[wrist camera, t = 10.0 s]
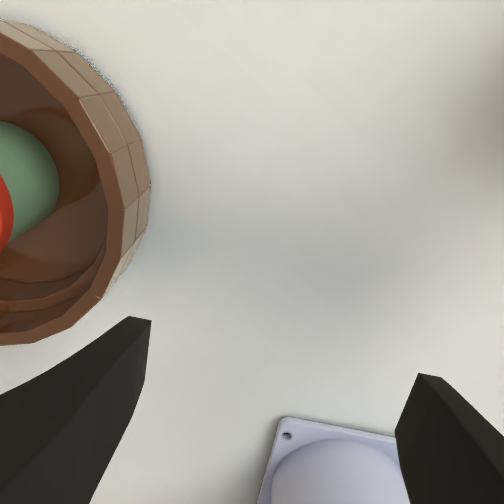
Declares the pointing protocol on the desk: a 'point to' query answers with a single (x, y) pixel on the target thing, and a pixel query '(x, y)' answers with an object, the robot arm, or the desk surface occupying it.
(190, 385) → the desk surface
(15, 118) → the bowl
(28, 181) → the container
